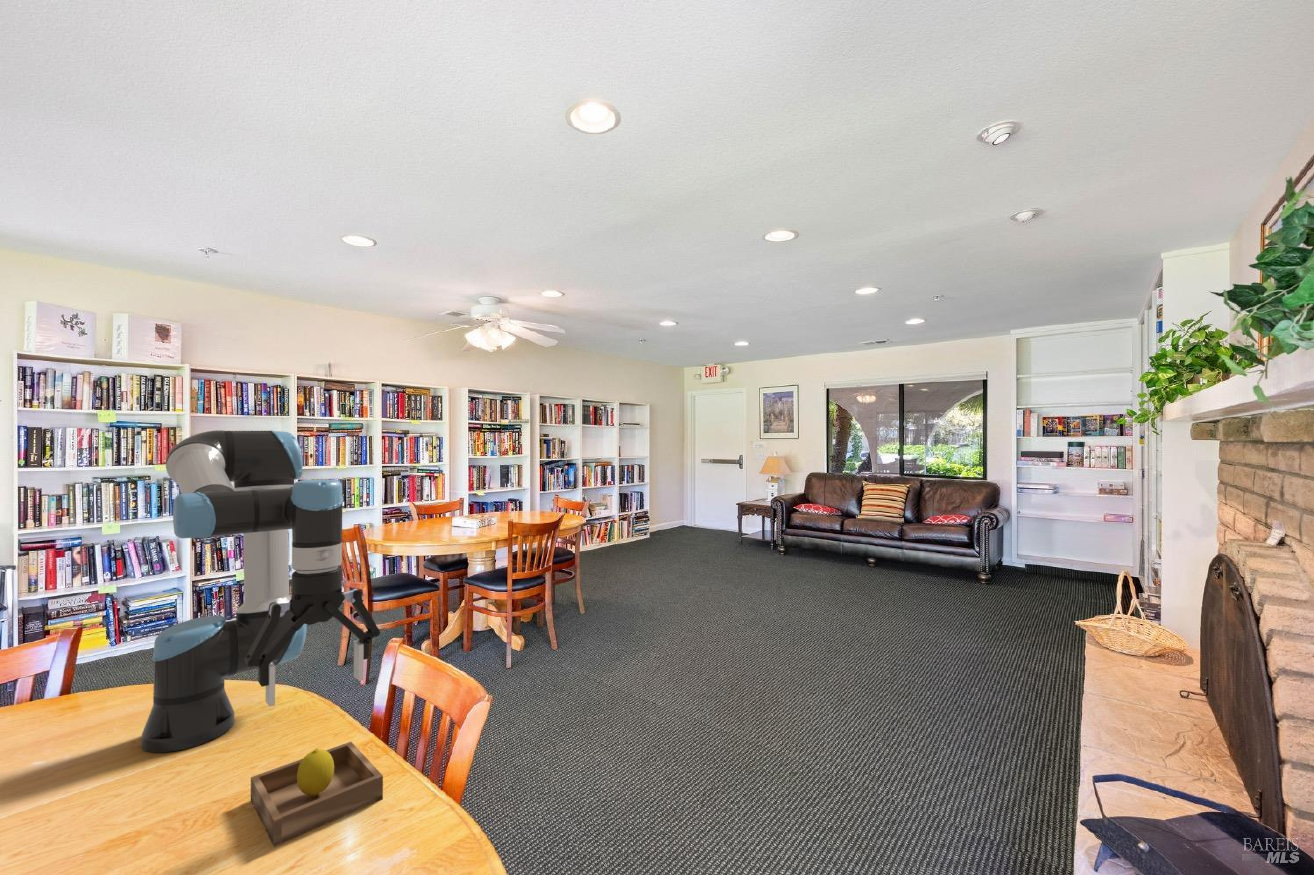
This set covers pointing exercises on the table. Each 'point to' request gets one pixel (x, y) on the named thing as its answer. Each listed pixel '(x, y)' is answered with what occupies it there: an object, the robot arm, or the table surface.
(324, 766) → the lemon
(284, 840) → the walnut bin
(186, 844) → the table surface
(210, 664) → the robot arm
